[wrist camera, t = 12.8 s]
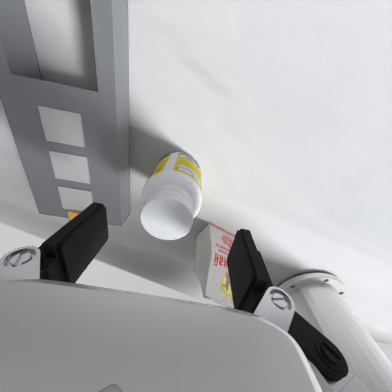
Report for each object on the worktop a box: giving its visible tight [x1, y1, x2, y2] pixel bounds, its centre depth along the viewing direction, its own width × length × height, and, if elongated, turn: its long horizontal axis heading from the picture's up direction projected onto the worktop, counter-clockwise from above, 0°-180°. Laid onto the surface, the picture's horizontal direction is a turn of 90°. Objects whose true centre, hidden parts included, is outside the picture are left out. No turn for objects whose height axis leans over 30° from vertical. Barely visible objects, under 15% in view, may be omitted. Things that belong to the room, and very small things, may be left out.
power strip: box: [0, 0, 130, 226], centre depth 16 cm, size 24×10×4 cm, turn 169°
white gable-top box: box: [195, 222, 235, 309], centre depth 22 cm, size 4×7×10 cm, turn 57°
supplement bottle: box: [140, 152, 202, 240], centre depth 16 cm, size 5×5×10 cm
